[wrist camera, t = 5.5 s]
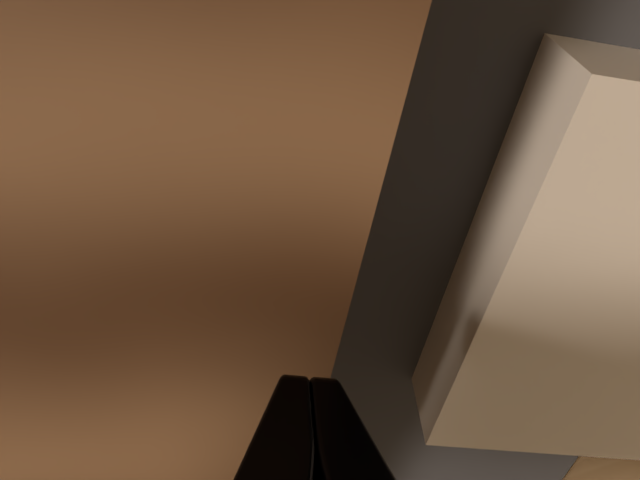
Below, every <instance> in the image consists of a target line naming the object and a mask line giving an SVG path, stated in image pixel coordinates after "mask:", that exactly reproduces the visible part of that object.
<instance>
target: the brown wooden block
mask: <svg viewBox="0 0 640 480" xmlns="http://www.w3.org/2000/svg"><path fill="white" fill-rule="evenodd" d="M431 2H432V0H0V480H233V479H234V477H235V475H236V472H237V470H238V468H239V466H240V464H241V461H242V459H243V457H244V455H245V453H246V451H247V448H248V446H249V444H250V442H251V440H252V437H253V435H254V433H255V431H256V429H257V426H258V424H259V422H260V420H261V418H262V415H263V413H264V411H265V409H266V407H267V404H268V402H269V400H270V398H271V396H272V393H273V391H274V389H275V387H276V385H277V383H278V380H279V378H280V377H281V376H282V375H285V374H286V375H299V376H306V377H307V378H308V379H309V380H310V379H311V378H312V377H323V378H331V374H332V370H333V366H334V363H335V359H336V355H337V352H338V348H339V344H340V340H341V337H342V333H343V329H344V326H345V322H346V318H347V314H348V311H349V307H350V303H351V299H352V296H353V292H354V288H355V285H356V281H357V277H358V273H359V270H360V266H361V262H362V259H363V255H364V251H365V247H366V244H367V240H368V236H369V233H370V229H371V225H372V221H373V218H374V214H375V210H376V207H377V203H378V199H379V195H380V192H381V188H382V184H383V181H384V177H385V173H386V169H387V166H388V162H389V158H390V155H391V151H392V147H393V143H394V140H395V136H396V132H397V128H398V125H399V121H400V117H401V114H402V110H403V106H404V102H405V99H406V95H407V91H408V88H409V84H410V80H411V76H412V73H413V69H414V65H415V62H416V58H417V54H418V50H419V47H420V43H421V39H422V36H423V32H424V28H425V24H426V21H427V17H428V13H429V10H430V6H431Z"/></svg>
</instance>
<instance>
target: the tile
mask: <svg viewBox="0 0 640 480" xmlns="http://www.w3.org/2000/svg"><path fill="white" fill-rule="evenodd" d="M412 384H413V388H414V393H415V398H416V402H417V407H418V411H419V416H420V421H421V425H422V430H423V435H424V439H425V444H426V445H432V446H446V447H460V448H474V449H488V450H502V451H516V452H530V453H544V454H558V455H572V456H586V457H600V458H614V459H628V460H640V49H634V48H628V47H622V46H616V45H610V44H605V43H599V42H593V41H587V40H581V39H576V38H570V37H564V36H558V35H552V34H546V33H544V36H543V39H542V41H541V44H540V46H539V49H538V52H537V54H536V57H535V59H534V62H533V65H532V67H531V70H530V72H529V75H528V78H527V80H526V83H525V85H524V88H523V91H522V93H521V96H520V98H519V101H518V104H517V106H516V109H515V111H514V114H513V117H512V119H511V122H510V124H509V127H508V130H507V132H506V135H505V137H504V140H503V143H502V145H501V148H500V150H499V153H498V155H497V158H496V161H495V163H494V166H493V168H492V171H491V174H490V176H489V179H488V181H487V184H486V187H485V189H484V192H483V194H482V197H481V200H480V202H479V205H478V207H477V210H476V213H475V215H474V218H473V220H472V223H471V226H470V228H469V231H468V233H467V236H466V239H465V241H464V244H463V246H462V249H461V252H460V254H459V257H458V259H457V262H456V265H455V267H454V270H453V272H452V275H451V278H450V280H449V283H448V285H447V288H446V291H445V293H444V296H443V298H442V301H441V303H440V306H439V309H438V311H437V314H436V316H435V319H434V322H433V324H432V327H431V329H430V332H429V335H428V337H427V340H426V342H425V345H424V348H423V350H422V353H421V355H420V358H419V361H418V363H417V366H416V368H415V371H414V374H413V376H412Z"/></svg>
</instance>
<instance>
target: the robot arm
mask: <svg viewBox="0 0 640 480" xmlns="http://www.w3.org/2000/svg"><path fill="white" fill-rule="evenodd" d="M233 480H396V478H395V476H394V474H393V473H392V471H391V469H390V468H389V466H388V464H387V462H386V461H385V459H384V457H383V456H382V454H381V452H380V450H379V449H378V447H377V445H376V443H375V442H374V440H373V438H372V437H371V435H370V433H369V431H368V430H367V428H366V426H365V425H364V423H363V421H362V419H361V418H360V416H359V414H358V412H357V411H356V409H355V407H354V406H353V404H352V402H351V400H350V399H349V397H348V395H347V394H346V392H345V390H344V388H343V387H342V385H341V383H340V382H339V381H338V380H337V379H334V378H323V377H312V378H311V379H310V380H309V379H308V378H307V377H306V376H299V375H286V374H285V375H282V376H281V377H280V378H279V380H278V383H277V385H276V387H275V389H274V391H273V393H272V396H271V398H270V400H269V402H268V404H267V407H266V409H265V411H264V413H263V415H262V418H261V420H260V422H259V424H258V426H257V429H256V431H255V433H254V435H253V437H252V440H251V442H250V444H249V446H248V448H247V451H246V453H245V455H244V457H243V459H242V461H241V464H240V466H239V468H238V470H237V472H236V475H235V477H234V479H233Z"/></svg>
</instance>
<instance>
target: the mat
mask: <svg viewBox="0 0 640 480" xmlns="http://www.w3.org/2000/svg"><path fill="white" fill-rule="evenodd" d="M544 33H546V34H552V35H558V36H564V37H570V38H576V39H581V40H587V41H593V42H599V43H605V44H610V45H616V46H622V47H628V48H634V49H640V0H432V2H431V6H430V10H429V13H428V17H427V21H426V24H425V28H424V32H423V36H422V39H421V43H420V47H419V50H418V54H417V58H416V62H415V65H414V69H413V73H412V76H411V80H410V84H409V88H408V91H407V95H406V99H405V102H404V106H403V110H402V114H401V117H400V121H399V125H398V128H397V132H396V136H395V140H394V143H393V147H392V151H391V155H390V158H389V162H388V166H387V169H386V173H385V177H384V181H383V184H382V188H381V192H380V195H379V199H378V203H377V207H376V210H375V214H374V218H373V221H372V225H371V229H370V233H369V236H368V240H367V244H366V247H365V251H364V255H363V259H362V262H361V266H360V270H359V273H358V277H357V281H356V285H355V288H354V292H353V296H352V299H351V303H350V307H349V311H348V314H347V318H346V322H345V326H344V329H343V333H342V337H341V340H340V344H339V348H338V352H337V355H336V359H335V363H334V366H333V370H332V374H331V378H334V379H337V380H338V381H339V382H340V383H341V385H342V387H343V388H344V390H345V392H346V394H347V395H348V397H349V399H350V400H351V402H352V404H353V406H354V407H355V409H356V411H357V412H358V414H359V416H360V418H361V419H362V421H363V423H364V425H365V426H366V428H367V430H368V431H369V433H370V435H371V437H372V438H373V440H374V442H375V443H376V445H377V447H378V449H379V450H380V452H381V454H382V456H383V457H384V459H385V461H386V462H387V464H388V466H389V468H390V469H391V471H392V473H393V474H394V476H395V478H396V480H562V479H563V477H564V476H565V475H566V473H567V472H568V470H569V469H570V468H571V466H572V465H573V463H574V462H575V460H576V459H577V458H578V456H572V455H558V454H544V453H530V452H516V451H502V450H488V449H474V448H460V447H446V446H432V445H426V444H425V439H424V435H423V430H422V425H421V421H420V416H419V411H418V407H417V402H416V398H415V393H414V388H413V384H412V376H413V374H414V371H415V368H416V366H417V363H418V361H419V358H420V355H421V353H422V350H423V348H424V345H425V342H426V340H427V337H428V335H429V332H430V329H431V327H432V324H433V322H434V319H435V316H436V314H437V311H438V309H439V306H440V303H441V301H442V298H443V296H444V293H445V291H446V288H447V285H448V283H449V280H450V278H451V275H452V272H453V270H454V267H455V265H456V262H457V259H458V257H459V254H460V252H461V249H462V246H463V244H464V241H465V239H466V236H467V233H468V231H469V228H470V226H471V223H472V220H473V218H474V215H475V213H476V210H477V207H478V205H479V202H480V200H481V197H482V194H483V192H484V189H485V187H486V184H487V181H488V179H489V176H490V174H491V171H492V168H493V166H494V163H495V161H496V158H497V155H498V153H499V150H500V148H501V145H502V143H503V140H504V137H505V135H506V132H507V130H508V127H509V124H510V122H511V119H512V117H513V114H514V111H515V109H516V106H517V104H518V101H519V98H520V96H521V93H522V91H523V88H524V85H525V83H526V80H527V78H528V75H529V72H530V70H531V67H532V65H533V62H534V59H535V57H536V54H537V52H538V49H539V46H540V44H541V41H542V39H543V36H544Z"/></svg>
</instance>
